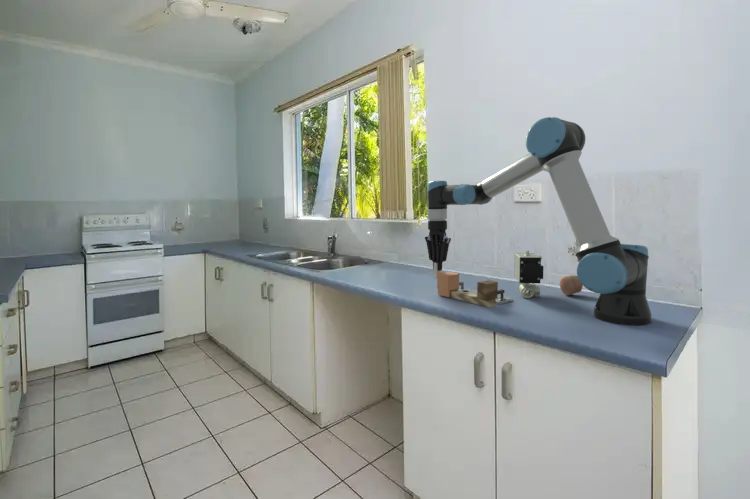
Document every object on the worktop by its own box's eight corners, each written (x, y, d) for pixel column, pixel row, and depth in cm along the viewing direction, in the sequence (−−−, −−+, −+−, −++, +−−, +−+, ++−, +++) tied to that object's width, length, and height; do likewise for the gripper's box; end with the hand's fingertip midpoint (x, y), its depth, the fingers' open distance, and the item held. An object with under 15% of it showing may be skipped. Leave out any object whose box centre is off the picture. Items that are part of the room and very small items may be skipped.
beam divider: (508, 303, 144) (509, 280, 143) (487, 308, 137) (487, 284, 136) (457, 291, 164) (458, 271, 163) (437, 295, 158) (437, 274, 157)
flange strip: (513, 301, 147) (513, 298, 147) (497, 304, 142) (497, 301, 142) (468, 290, 165) (468, 288, 165) (452, 294, 160) (452, 291, 160)
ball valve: (544, 302, 144) (546, 253, 142) (520, 301, 146) (521, 253, 144) (535, 291, 161) (536, 248, 159) (513, 291, 163) (514, 248, 161)
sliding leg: (468, 293, 159) (468, 272, 158) (448, 297, 153) (448, 275, 152) (457, 290, 164) (457, 270, 163) (437, 294, 158) (437, 273, 157)
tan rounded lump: (581, 294, 156) (582, 274, 155) (582, 298, 149) (583, 277, 148) (559, 292, 159) (559, 272, 158) (559, 296, 152) (560, 276, 151)
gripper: (456, 220, 155) (455, 279, 158) (433, 219, 166) (433, 274, 169) (442, 220, 151) (442, 281, 154) (419, 220, 162) (420, 277, 165)
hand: (437, 278), depth 161 cm, fingers closed
